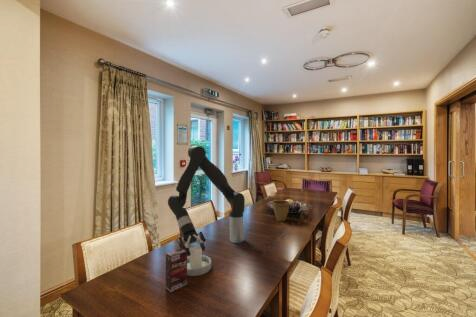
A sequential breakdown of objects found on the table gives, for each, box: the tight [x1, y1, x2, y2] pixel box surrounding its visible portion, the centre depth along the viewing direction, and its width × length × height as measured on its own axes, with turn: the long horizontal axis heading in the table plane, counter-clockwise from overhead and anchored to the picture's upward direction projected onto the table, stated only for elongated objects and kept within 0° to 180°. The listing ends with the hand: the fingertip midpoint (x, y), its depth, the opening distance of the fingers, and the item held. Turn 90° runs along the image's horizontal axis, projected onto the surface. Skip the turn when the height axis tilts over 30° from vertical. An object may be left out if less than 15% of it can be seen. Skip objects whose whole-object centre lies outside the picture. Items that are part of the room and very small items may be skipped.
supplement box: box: [165, 248, 188, 293], centre depth 103 cm, size 9×5×16 cm, turn 136°
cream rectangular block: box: [189, 246, 203, 269], centre depth 120 cm, size 5×5×9 cm
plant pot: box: [272, 199, 291, 222], centre depth 200 cm, size 15×15×16 cm
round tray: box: [187, 254, 212, 277], centre depth 120 cm, size 16×16×3 cm
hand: (196, 253), depth 119 cm, fingers open, 8 cm apart
